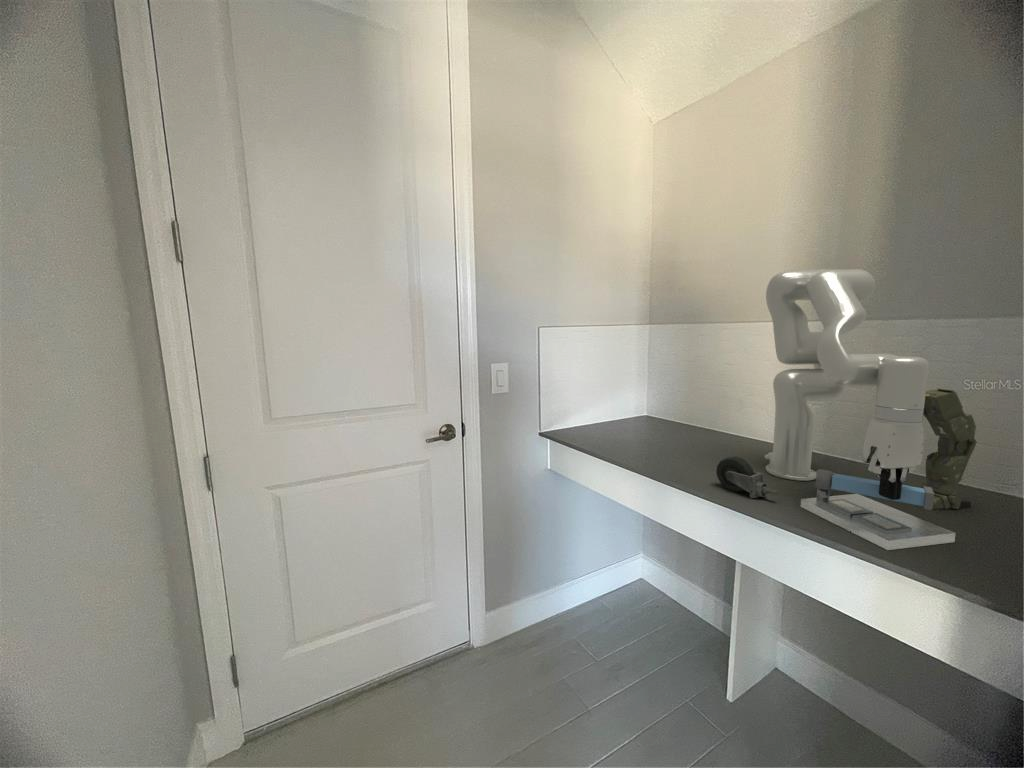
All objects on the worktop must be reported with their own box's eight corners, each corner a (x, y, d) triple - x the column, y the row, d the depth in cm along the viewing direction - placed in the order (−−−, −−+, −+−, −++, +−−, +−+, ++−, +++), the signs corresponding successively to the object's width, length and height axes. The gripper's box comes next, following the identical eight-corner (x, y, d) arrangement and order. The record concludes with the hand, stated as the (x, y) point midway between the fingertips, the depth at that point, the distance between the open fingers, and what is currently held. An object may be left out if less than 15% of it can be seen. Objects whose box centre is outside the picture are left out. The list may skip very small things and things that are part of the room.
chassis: (799, 506, 99) (801, 488, 98) (855, 500, 101) (857, 483, 100) (887, 550, 79) (890, 528, 78) (954, 542, 81) (957, 520, 81)
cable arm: (814, 488, 97) (815, 472, 96) (816, 483, 100) (817, 467, 100) (932, 511, 84) (934, 493, 84) (929, 504, 87) (931, 486, 87)
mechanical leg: (958, 493, 102) (945, 380, 98) (992, 505, 95) (980, 384, 91) (906, 507, 102) (890, 395, 98) (936, 520, 95) (921, 400, 91)
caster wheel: (713, 490, 112) (772, 504, 99) (712, 456, 111) (770, 466, 99) (725, 486, 115) (782, 498, 102) (723, 452, 114) (781, 461, 102)
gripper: (908, 409, 90) (899, 488, 92) (849, 413, 88) (842, 493, 90) (948, 416, 82) (938, 501, 85) (886, 420, 80) (877, 507, 83)
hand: (889, 497), depth 87 cm, fingers closed
